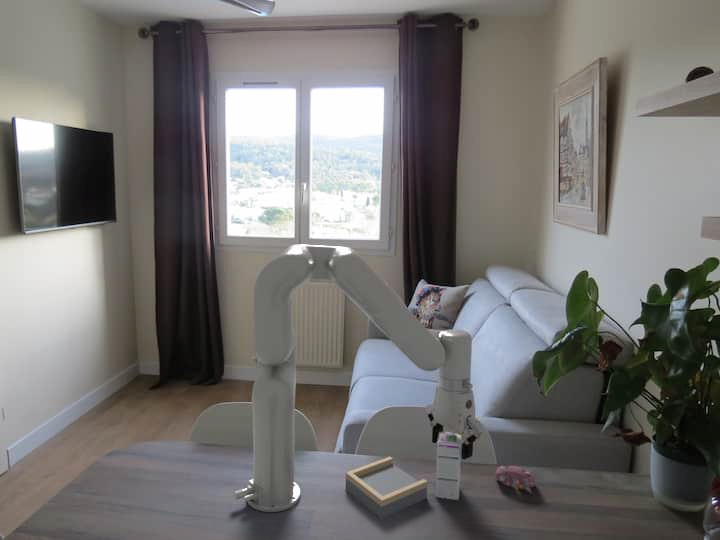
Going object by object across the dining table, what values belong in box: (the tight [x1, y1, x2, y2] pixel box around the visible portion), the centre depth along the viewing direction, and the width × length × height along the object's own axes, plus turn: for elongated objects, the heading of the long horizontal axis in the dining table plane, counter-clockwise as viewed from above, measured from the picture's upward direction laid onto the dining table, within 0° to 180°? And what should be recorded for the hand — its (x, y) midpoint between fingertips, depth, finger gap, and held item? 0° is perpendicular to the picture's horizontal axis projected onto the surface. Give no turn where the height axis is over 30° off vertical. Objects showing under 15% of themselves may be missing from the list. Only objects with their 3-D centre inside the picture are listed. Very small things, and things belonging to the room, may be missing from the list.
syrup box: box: [434, 431, 462, 501], centre depth 127 cm, size 6×6×14 cm
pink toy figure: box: [494, 465, 537, 490], centre depth 131 cm, size 10×5×7 cm, turn 70°
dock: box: [345, 456, 428, 519], centre depth 126 cm, size 14×14×4 cm
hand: (451, 449), depth 126 cm, fingers open, 9 cm apart
